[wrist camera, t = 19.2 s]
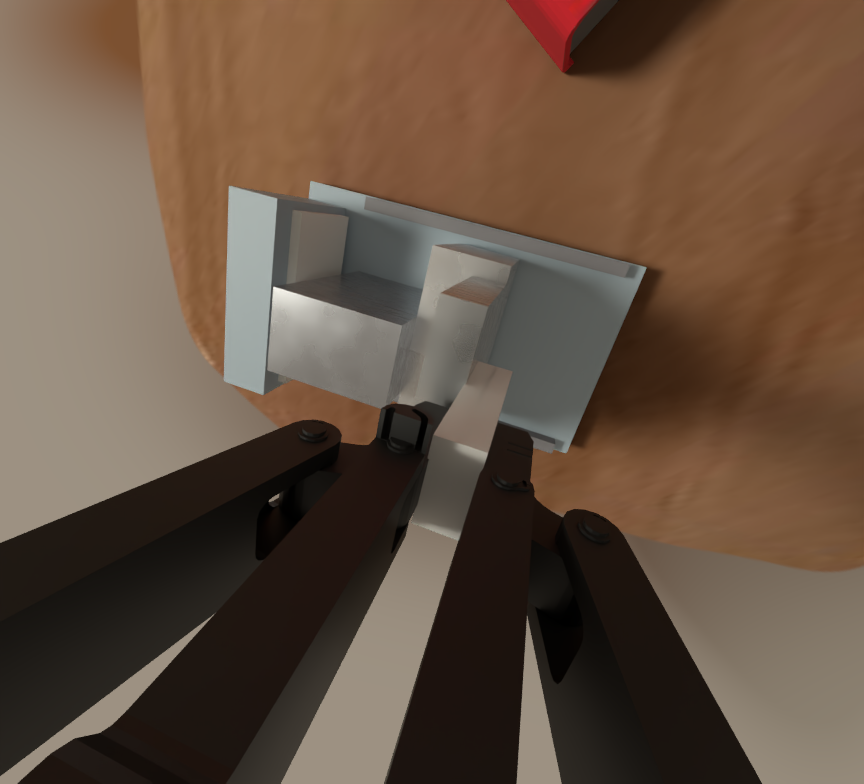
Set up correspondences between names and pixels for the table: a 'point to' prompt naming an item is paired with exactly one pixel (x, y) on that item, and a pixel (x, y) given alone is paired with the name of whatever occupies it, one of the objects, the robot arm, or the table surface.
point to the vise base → (407, 263)
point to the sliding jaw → (455, 321)
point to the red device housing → (561, 23)
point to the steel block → (344, 334)
